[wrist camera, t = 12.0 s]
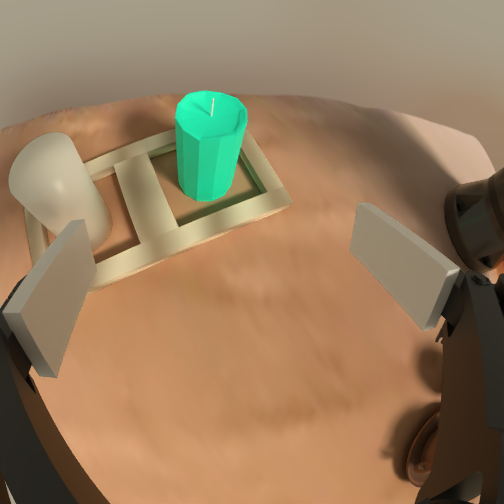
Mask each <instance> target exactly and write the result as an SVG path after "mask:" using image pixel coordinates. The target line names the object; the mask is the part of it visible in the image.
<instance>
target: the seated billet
mask: <svg viewBox="0 0 504 504" xmlns="http://www.w3.org/2000/svg"><path fill="white" fill-rule="evenodd" d="M8 183H9V189H10V192H11V194H12V195H13V196H14V197H15V198H16V199H17V200H18V201H19V202H20V203H21V204H22V205H23V206H24V207H25V208H26V209H27V210H28V211H29V212H30V213H31V214H32V215H33V216H34V217H35V218H36V219H38V220H39V221H40V222H41V223H42V224H43V225H44V226H45V227H46V228H47V229H48V230H50V231H51V232H52V233H53V234H54V235H55V236H56V237H57V236H58V235H59V234H60V233H61V231H62V230H63V229H64V228H65V227H66V226H67V224H68V223H69V222H70V221H72V220H80V219H85V222H86V227H87V232H88V236H89V241H90V245H91V249H92V252H93V251H95V250H97V249H99V248H100V247H101V246H102V245H103V244H104V243H105V242H106V241H107V239H108V237H109V236H110V233H111V230H112V216H111V213H110V211H109V209H108V208H107V206H106V204H105V202H104V201H103V199H102V197H101V195H100V194H99V192H98V190H97V188H96V186H95V185H94V183H93V181H92V179H91V177H90V175H89V174H88V172H87V170H86V168H85V166H84V164H83V162H82V160H81V158H80V156H79V154H78V152H77V150H76V148H75V146H74V144H73V142H72V140H71V139H70V137H68V136H67V135H65V134H63V133H59V132H52V133H47V134H44V135H41V136H39V137H37V138H36V139H34V140H32V141H31V142H30V143H29V144H27V145H26V146H25V147H24V148H23V149H22V150H21V152H20V153H19V154H18V156H17V157H16V159H15V160H14V162H13V164H12V167H11V169H10V173H9V180H8Z"/></svg>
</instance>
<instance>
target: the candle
mask: <svg viewBox="0 0 504 504" xmlns="http://www.w3.org/2000/svg"><path fill="white" fill-rule="evenodd" d="M246 125H247V109H246V108H245V106H244V105H243V104H242V103H241V102H240V101H239V100H238V98H235V97H232V96H230V95H227V94H224V93H220V92H212V91H199V92H193V93H188V94H187V95H186V96H185V97H184V98H183V99H182V100H181V101H180V102H179V104H178V105H177V109H176V115H175V129H176V150H177V167H178V181H179V185H180V187H181V188H182V190H183V192H184V194H185V195H187V196H189V197H191V198H193V199H194V200H196V201H213V200H216V199H218V198H220V197H222V196H224V195H225V194H226V192H227V191H228V189H229V188H230V186H231V184H232V180H233V176H234V172H235V168H236V164H237V160H238V156H239V152H240V148H241V144H242V140H243V136H244V132H245V129H246Z"/></svg>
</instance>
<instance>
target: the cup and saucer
mask: <svg viewBox="0 0 504 504" xmlns="http://www.w3.org/2000/svg"><path fill="white" fill-rule="evenodd" d="M439 417H440V411H439V412H437V413H436V414H435V415H433V416H432V417H431V418H430V419H429V420H428V421H427V422H426V423H425V425H424V426H423V427H422V428H421V430H420V431H419V433H418V434H417V436H416V438H415V440H414V442H413V444H412V446H411V448H410V451H409V454H408V458H407V464H406V473H407V477H408V479H409V481H410V482H411V483H412V484H413V485H414V486H416V487H422V485H423V484H424V482H425V481H426V479H427V478H428V476H429V474H430V472H431V468H432V463H433V458H434V452H435V447H436V440H437V433H438V426H439Z"/></svg>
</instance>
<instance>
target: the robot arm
mask: <svg viewBox="0 0 504 504" xmlns="http://www.w3.org/2000/svg"><path fill="white" fill-rule="evenodd" d="M445 216H446V222H447V227H448V230H449V234H450V237H451V239H452V242H453V244H454V246H455V248H456V250H457V252H458V254H459V255H460V257H461V258H462V260H463V261H464V262H465V264H466V265H467V266H468V267H469V268H470V269H472V270H473V271H468V272H466V274H465V273H463V272H462V271H461V270H460V268H459V267H458V266H457V265H456V264H454V263H453V262H452V261H451V260H449V259H448V258H447V257H446V256H444V255H443V254H442V253H441V252H439V251H438V250H437V249H435V248H434V247H433V246H431V245H430V244H429V243H427V242H426V241H425V240H423V239H422V238H421V237H419V236H418V235H417V234H415V233H414V232H412V231H411V230H410V229H408V228H407V227H405V226H404V225H402V224H401V223H400V222H398V221H397V220H395V219H394V218H392V217H391V216H389V215H388V214H386V213H385V212H383V211H382V210H380V209H379V208H377V207H376V206H374V205H373V204H371V203H358V204H357V211H356V217H355V223H354V229H353V234H352V240H351V245H350V250H349V251H350V252H351V253H352V254H353V255H354V256H355V257H356V258H357V259H358V260H359V261H360V262H361V263H362V264H363V265H364V266H365V267H366V269H367V270H368V271H369V272H370V273H371V274H372V275H373V276H374V277H375V278H376V279H377V280H378V281H379V282H380V284H381V285H382V286H383V287H384V288H385V289H386V290H387V291H388V292H389V293H390V294H391V296H392V297H393V298H394V299H395V300H396V301H397V302H398V303H399V305H400V306H401V307H402V308H403V309H404V310H405V311H406V312H407V314H408V315H409V316H410V317H411V318H412V319H413V321H414V322H415V323H416V324H417V325H418V326H419V328H420V329H421V330H422V331H425V330H428V329H431V328H434V327H436V325H437V322H438V320H439V318H440V316H441V315H442V316H443V317H444V318H445V319H446V320H445V322H444V324H443V326H442V328H441V330H440V332H439V334H438V336H437V338H436V340H435V342H438V340H439V338H441V337H443V339H442V341H441V344H443V374H442V394H441V407H440V417H439V426H438V433H437V440H436V447H435V452H434V458H433V463H432V468H431V472H430V474H429V476H428V478H427V479H426V481H425V482H424V484H423V485H422V487H421V488H420V490H419V492H418V495H417V498H416V501H415V504H473V503H470V502H468V501H469V500H471V499H473V498H475V497H477V496H479V495H481V496H480V502H479V504H504V274H500V275H499V278H498V280H497V282H496V284H492V283H491V282H490V280H489V279H488V278H487V277H485V276H484V275H483V274H481V273H485V272H488V271H490V270H493V269H494V268H496V267H497V266H498V265H499V264H500V263H501V262H502V261H504V168H502V169H501V170H499V171H498V172H497V173H495V174H494V175H492V176H491V177H489V178H488V179H485V180H480V181H475V182H471V183H466V184H462V185H459V186H458V187H456V188H455V189H453V190H452V191H451V192H450V193H449V194H448V195H447V198H446V202H445ZM96 272H97V269H96V265H95V261H94V257H93V253H92V249H91V245H90V241H89V236H88V232H87V227H86V222H85V219H80V220H72V221H70V222H69V223H68V224H67V226H66V227H65V228H64V229H63V230H62V231H61V233H60V234H59V235H58V236H57V237H56V238H55V240H54V241H53V242H52V243H51V245H50V246H49V247H48V248H47V250H46V251H45V252H44V253H43V255H42V256H41V257H40V258H39V260H38V261H37V262H36V264H35V265H34V266H33V268H32V269H31V270H30V272H29V273H28V275H26V276H25V277H24V278H22V279H21V280H20V281H19V282H18V283H17V284H16V286H15V287H14V289H13V290H12V292H11V293H10V295H9V296H8V299H6V301H5V302H4V304H3V305H2V307H1V308H0V504H11V501H10V498H9V495H8V491H7V487H6V484H7V486H8V488H9V490H10V492H11V494H12V496H13V498H14V500H15V502H16V504H110V503H109V502H108V500H107V499H106V498H105V497H104V496H103V494H102V493H101V492H100V491H99V489H98V488H97V487H96V485H95V484H94V483H93V482H92V480H91V479H90V478H89V476H88V475H87V473H86V472H85V471H84V469H83V468H82V466H81V465H80V463H79V462H78V461H77V459H76V458H75V456H74V455H73V453H72V451H71V450H70V448H69V447H68V445H67V444H66V442H65V440H64V439H63V437H62V435H61V434H60V432H59V430H58V428H57V427H56V425H55V423H54V421H53V419H52V417H51V416H50V414H49V412H48V410H47V408H46V406H45V404H44V402H43V400H42V398H41V396H40V394H39V391H38V389H37V387H36V385H35V383H34V380H33V379H32V377H31V376H30V374H29V371H30V368H31V365H32V366H33V367H34V369H35V370H36V372H37V373H38V375H39V376H43V377H53V378H57V376H58V373H59V369H60V366H61V363H62V360H63V357H64V354H65V351H66V348H67V345H68V342H69V339H70V336H71V333H72V331H73V328H74V325H75V323H76V320H77V317H78V315H79V312H80V310H81V307H82V305H83V302H84V300H85V298H86V295H87V293H88V290H89V288H90V286H91V284H92V281H93V279H94V277H95V275H96ZM5 482H6V483H5Z"/></svg>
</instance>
